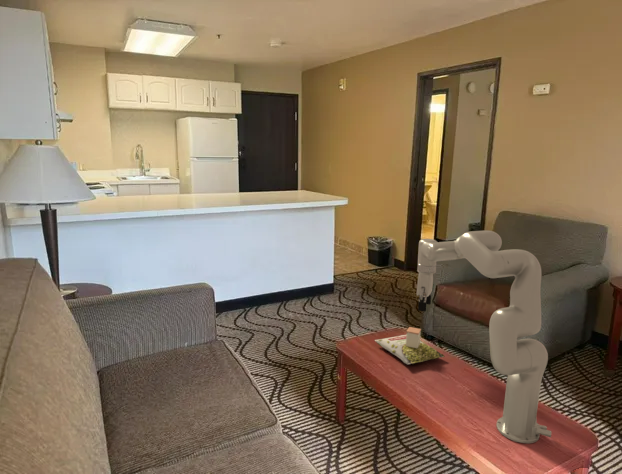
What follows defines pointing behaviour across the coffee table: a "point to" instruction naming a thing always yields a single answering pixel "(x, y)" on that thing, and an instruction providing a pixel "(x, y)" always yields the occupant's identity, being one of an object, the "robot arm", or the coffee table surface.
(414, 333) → the salmon block
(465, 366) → the coffee table surface
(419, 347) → the frozen beans
